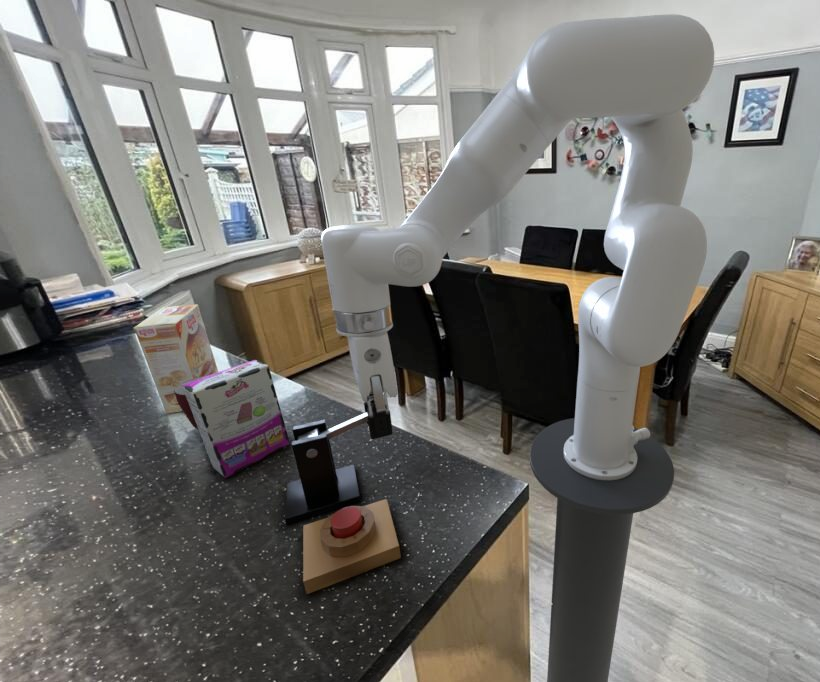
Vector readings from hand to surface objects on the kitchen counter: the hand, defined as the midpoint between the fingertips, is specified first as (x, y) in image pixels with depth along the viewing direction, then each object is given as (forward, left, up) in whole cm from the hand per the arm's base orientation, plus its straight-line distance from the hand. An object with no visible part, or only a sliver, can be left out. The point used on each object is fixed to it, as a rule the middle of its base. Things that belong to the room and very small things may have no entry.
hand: (379, 428), depth 61 cm
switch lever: (+4, 0, 0) cm, 4 cm away
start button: (+7, +12, -6) cm, 15 cm away
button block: (+7, +12, -10) cm, 17 cm away
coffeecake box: (+35, -47, -10) cm, 59 cm away
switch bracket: (+10, 0, -10) cm, 14 cm away
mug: (+28, -30, -10) cm, 42 cm away
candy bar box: (+21, -16, -10) cm, 28 cm away
